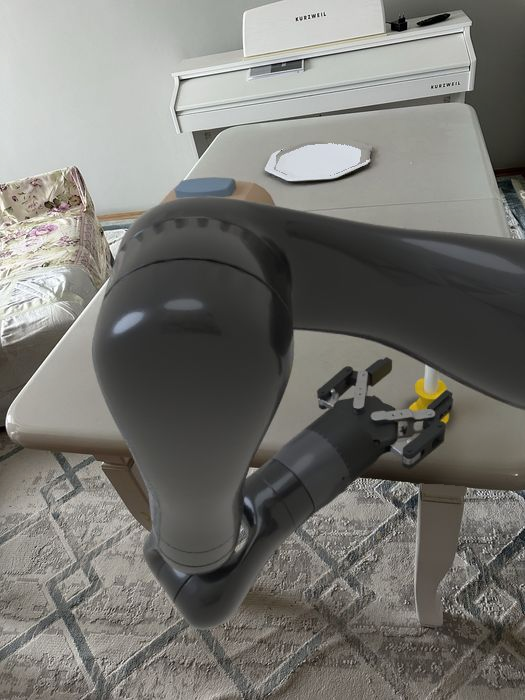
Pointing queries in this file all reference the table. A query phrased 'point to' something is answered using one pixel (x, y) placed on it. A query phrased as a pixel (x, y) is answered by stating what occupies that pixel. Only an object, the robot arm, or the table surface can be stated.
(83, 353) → the table surface
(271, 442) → the table surface
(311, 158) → the plate
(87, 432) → the table surface
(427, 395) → the candle
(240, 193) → the alarm clock
